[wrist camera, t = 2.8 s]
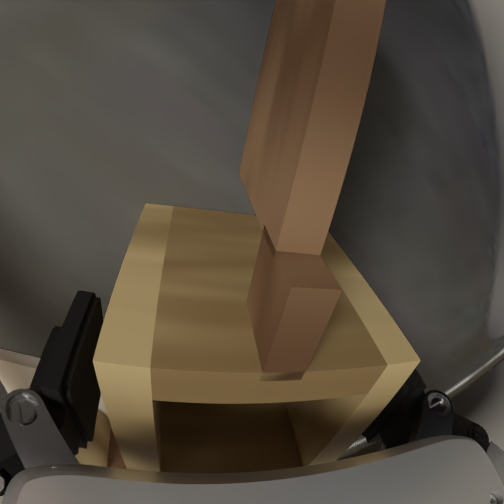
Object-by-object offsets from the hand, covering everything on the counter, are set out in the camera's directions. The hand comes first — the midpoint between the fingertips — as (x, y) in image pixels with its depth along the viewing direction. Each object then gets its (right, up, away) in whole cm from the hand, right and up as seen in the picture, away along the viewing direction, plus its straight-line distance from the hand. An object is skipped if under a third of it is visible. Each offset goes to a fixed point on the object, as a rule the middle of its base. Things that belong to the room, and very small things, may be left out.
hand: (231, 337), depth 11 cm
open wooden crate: (0, +6, 0) cm, 6 cm away
